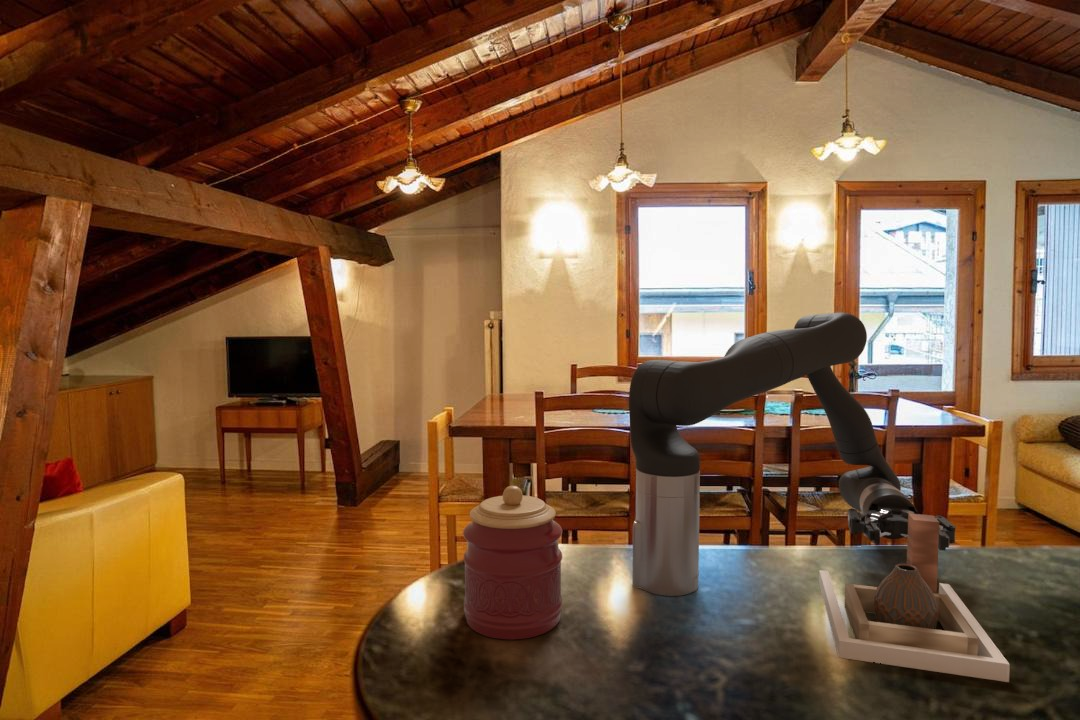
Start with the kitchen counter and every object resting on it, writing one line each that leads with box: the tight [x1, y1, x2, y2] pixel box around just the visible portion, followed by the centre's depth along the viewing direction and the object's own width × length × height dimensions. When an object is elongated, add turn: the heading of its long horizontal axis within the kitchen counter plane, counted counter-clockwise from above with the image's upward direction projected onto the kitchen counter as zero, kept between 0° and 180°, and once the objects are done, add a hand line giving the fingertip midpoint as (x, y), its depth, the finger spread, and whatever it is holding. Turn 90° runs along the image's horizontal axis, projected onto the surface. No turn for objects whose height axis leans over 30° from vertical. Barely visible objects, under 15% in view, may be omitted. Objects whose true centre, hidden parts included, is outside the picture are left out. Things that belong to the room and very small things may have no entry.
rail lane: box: [818, 569, 1011, 683], centre depth 82 cm, size 17×22×2 cm
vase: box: [874, 563, 939, 629], centre depth 79 cm, size 7×7×9 cm
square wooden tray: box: [844, 513, 979, 656], centre depth 82 cm, size 12×18×12 cm
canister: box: [462, 485, 563, 640], centre depth 84 cm, size 13×13×18 cm
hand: (909, 540), depth 94 cm, fingers open, 8 cm apart
